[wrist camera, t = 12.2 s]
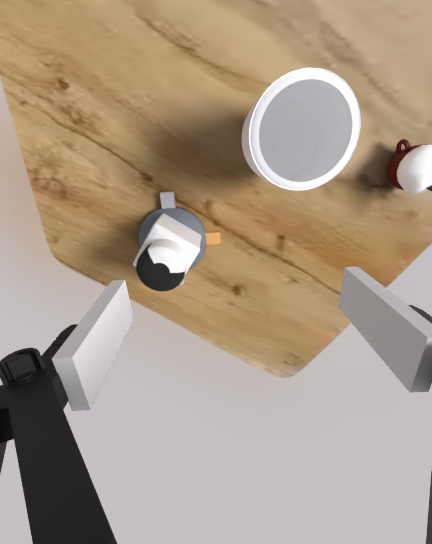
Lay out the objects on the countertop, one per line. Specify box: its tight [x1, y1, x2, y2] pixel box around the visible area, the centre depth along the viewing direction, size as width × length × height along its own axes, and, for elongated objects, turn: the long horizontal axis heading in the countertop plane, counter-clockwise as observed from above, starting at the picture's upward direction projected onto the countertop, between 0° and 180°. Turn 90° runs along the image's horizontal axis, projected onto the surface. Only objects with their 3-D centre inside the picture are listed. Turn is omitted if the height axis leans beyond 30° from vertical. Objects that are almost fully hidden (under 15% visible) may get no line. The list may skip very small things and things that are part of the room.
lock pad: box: [138, 191, 220, 285], centre depth 44 cm, size 16×13×1 cm
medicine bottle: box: [133, 213, 202, 291], centre depth 38 cm, size 7×7×12 cm
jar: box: [242, 68, 361, 190], centre depth 32 cm, size 11×10×15 cm
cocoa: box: [388, 139, 432, 194], centre depth 35 cm, size 10×6×12 cm, turn 14°
